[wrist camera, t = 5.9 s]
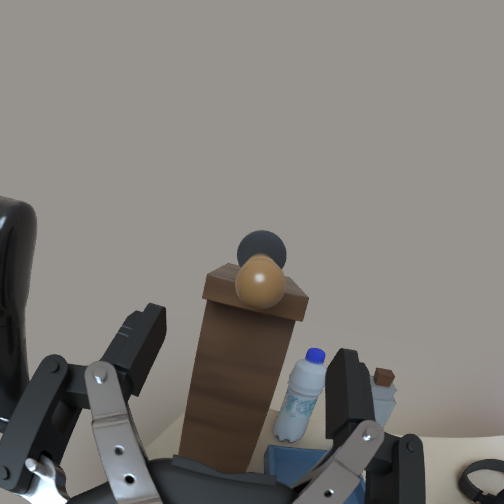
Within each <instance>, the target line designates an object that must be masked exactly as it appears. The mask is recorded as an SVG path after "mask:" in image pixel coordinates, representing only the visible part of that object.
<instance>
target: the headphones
mask: <svg viewBox="0 0 504 504" xmlns="http://www.w3.org/2000/svg"><path fill="white" fill-rule="evenodd" d="M481 469H491V470H496V471H500V472H503V473H504V461H502V460H497V459H485V460H481V461H477V462H475V463H472V464H471V465H469V466H468V467H467V469H466V470H465V471H464V472H463V474H462V476H461V478H460V480H459V487H460V489H461V491H462V492H463V493H464V494H465V496H466V497H468V498H469V499H470V500H472V501H473V502H475V503H476V502H477V501H479V502H480V503H481V504H504V489H503V490H502V491H500V492H499V493H498V494H497V495H496V496H495V495H492V494H490V493H488V494H487V496H486V495H483V494H482V493H483V492H484V491H482V490H480V489H479V488H477V487H476V486H475V485H474V484H472V483H471V481H470V480H469V479H468V477H467V474H469V473H471V472H473V471H477V470H481Z"/></svg>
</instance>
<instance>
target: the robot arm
mask: <svg viewBox="0 0 504 504" xmlns="http://www.w3.org/2000/svg"><path fill="white" fill-rule="evenodd" d="M36 236H37V218H36V213H35V211H34V209H33V207H32V206H31V205H30V204H28V203H26V202H23V201H19V200H15V199H11V198H7V197H2V196H0V422H3V423H5V424H8V425H7V427H6V429H5V431H4V433H3V436H2V438H1V440H0V487H1V488H3V489H5V490H8V491H10V492H12V493H13V494H16V495H18V496H21V497H24V498H25V499H27V500H28V501H29V502H31V503H33V504H343V503H344V502H345V501H346V499H347V498H348V497H349V496H350V494H351V493H352V492H353V491H354V489H355V488H356V487H357V485H358V484H359V482H360V480H361V478H360V475H361V473H362V472H363V470H366V484H365V499H364V504H426V494H425V466H424V452H423V444H422V441H421V440H420V438H419V437H418V436H416V435H414V434H407V435H404V436H403V437H402V438H400V437H397V436H394V435H391V434H388V433H385V432H384V430H383V428H382V427H381V425H380V424H379V423H377V422H376V419H375V411H374V403H373V395H372V391H371V390H372V388H371V384H370V382H371V381H370V375H369V371H368V369H367V367H366V366H365V364H364V363H360V362H359V359H358V353H357V351H355V350H350V349H343V348H341V349H339V351H338V352H337V354H336V355H335V357H334V359H333V360H332V362H331V363H330V365H329V366H328V368H327V371H326V375H325V393H326V396H325V398H326V439H333V445H332V446H331V447H330V449H329V450H328V451H327V452H326V453H325V454H324V455H323V456H322V458H321V459H320V460H319V461H318V462H317V463H316V464H315V465H314V466H313V467H312V468H311V469H310V470H309V471H308V472H307V473H306V474H305V475H304V476H303V477H301V478H300V479H299V480H298V481H297V482H296V483H294V484H293V485H292V486H291V487H289V486H288V485H286V484H284V483H282V482H280V481H278V480H277V476H276V475H268V474H260V473H253V472H249V473H222V472H220V471H218V470H216V469H213V468H211V467H209V466H207V465H205V464H203V463H201V462H199V461H195V460H192V459H188V458H185V457H181V456H178V455H175V454H174V455H173V458H160V459H154V460H150V461H149V459H148V457H147V454H146V452H145V449H144V447H143V445H142V442H141V440H140V438H139V435H138V432H137V429H136V427H135V424H134V421H133V418H132V415H131V412H130V408H129V405H128V400H129V398H130V396H131V394H132V395H135V396H137V397H138V396H139V394H140V391H141V389H142V387H143V385H144V383H145V380H146V378H147V376H148V374H149V371H150V369H151V367H152V365H153V363H154V361H155V359H156V357H157V354H158V352H159V350H160V348H161V346H162V344H163V342H164V339H165V336H166V330H167V326H166V308H165V307H163V306H159V305H156V304H153V303H149V304H148V305H147V307H146V308H145V310H144V311H143V312H140V311H135V312H133V313H132V314H131V315H129V316H128V317H127V318H126V320H125V321H124V323H123V325H122V327H121V328H120V329H119V331H118V333H117V334H116V336H115V337H114V339H113V340H112V342H111V344H110V345H109V347H108V348H107V350H106V352H105V353H104V355H103V357H102V358H101V359H100V360H99V361H96V362H93V363H91V364H90V365H89V366H81V365H74V364H67V362H66V360H65V359H64V358H63V357H62V356H60V355H56V354H53V355H49V356H47V357H45V358H44V359H43V360H42V362H41V363H40V365H39V367H38V368H37V370H36V372H35V373H34V375H33V377H32V379H31V380H30V381H29V373H28V364H27V353H26V333H25V307H26V303H27V299H28V294H29V287H30V276H31V269H32V262H33V256H34V250H35V244H36ZM82 408H84V409H90V410H91V413H92V418H93V421H92V430H93V434H94V437H95V441H96V445H97V448H98V451H99V455H100V458H101V461H102V464H103V467H104V470H105V473H106V476H107V479H108V482H106V483H103V484H101V485H99V486H97V487H95V488H93V489H90V490H88V491H86V492H83V493H81V494H79V495H76V496H74V497H72V498H70V497H69V496H68V494H67V492H66V488H65V484H66V475H65V473H64V471H63V469H62V468H61V467H60V466H59V465H60V463H61V460H62V457H63V455H64V452H65V449H66V446H67V444H68V442H69V439H70V437H71V434H72V432H73V429H74V427H75V425H76V422H77V420H78V418H79V415H80V413H81V411H82Z"/></svg>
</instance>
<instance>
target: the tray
mask: <svg viewBox="0 0 504 504" xmlns="http://www.w3.org/2000/svg"><path fill="white" fill-rule="evenodd" d="M327 451H328V450H314V449H302V448H292V447H283V446H275V445H268V448H267V450H266V453H265V455H264V474H268V475H276V476H277V480H278V481H280V482H282V483H284V484H286V485H288V486H289V487H291V486H292V485H293V484H294V483H296V482H297V481H298V480H299V479H300V478H301V477H303V476H304V475H305V474H306V473H307V472H308V471H309V470H310V469H311V468H312V467H313V466H314V465H315V464H316V463H317V462H318V461H319V460H320V459H321V458H322V456H323V455H324V454H325V453H326V452H327ZM360 478H361V480H360V482H359V484H358V485H357V487H356V488H355V489H354V491H353V492H352V493H351V494H350V496H349V497H348V498H347V499H346V501H345V502H344V503H343V504H364V499H365V482H364V479H363V477H362V474H361V475H360Z"/></svg>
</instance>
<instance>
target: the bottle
mask: <svg viewBox="0 0 504 504" xmlns="http://www.w3.org/2000/svg"><path fill="white" fill-rule="evenodd" d="M324 359H325V352H324V351H323V350H321V349H318V348H310V349H309V350H308V351H307V354H306V357H305V359H302V360H299V361H297V362H296V364H295V366H294V369H293V371H292V372H291V374H290V376H289V381H288V389H287V392H286V395H285V398H284V401H283V404H282V407H281V410H280V412H279V414H278V416H277V418H276V420H275V423H274V428H273V433H274V435H275V436H279V440H280V441H283V440H284V439H288V442H289V443H292V442H294V441H298V440H300V439H301V438H302V436H303V435H304V433H305V430H306V428H307V425H308V422H309V418H310V416H311V414H312V411H313V409H314V406H315V404H316V401H317V398H318V396H319V394H321V393H322V389H323V388H324V386H325V375H326V371H327V368H326V366H324V365H323V362H324Z"/></svg>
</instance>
